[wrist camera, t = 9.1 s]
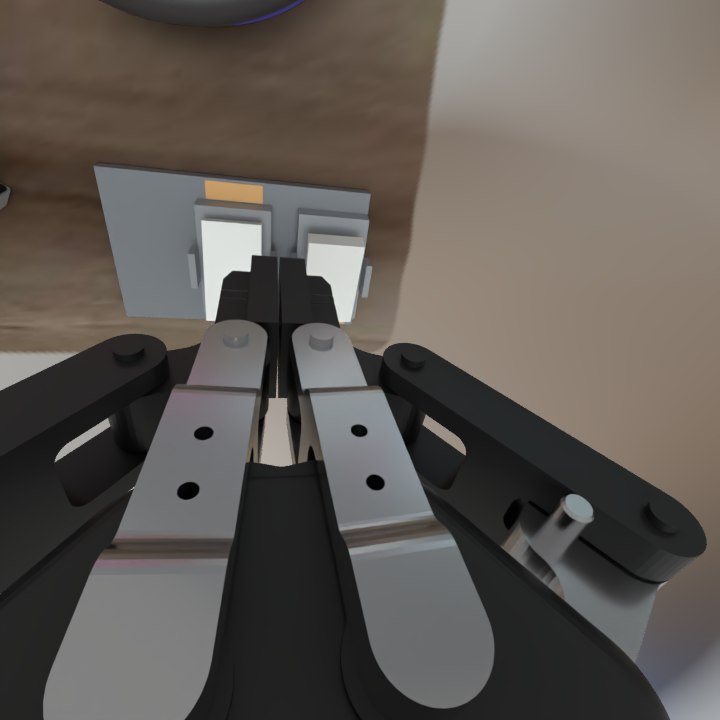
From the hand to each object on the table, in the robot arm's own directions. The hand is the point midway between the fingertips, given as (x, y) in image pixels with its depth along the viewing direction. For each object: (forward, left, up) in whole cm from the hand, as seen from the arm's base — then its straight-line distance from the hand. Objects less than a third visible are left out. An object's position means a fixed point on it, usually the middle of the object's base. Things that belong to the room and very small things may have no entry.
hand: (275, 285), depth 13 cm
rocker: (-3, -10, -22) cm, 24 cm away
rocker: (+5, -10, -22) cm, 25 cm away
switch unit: (-3, -10, -26) cm, 28 cm away
